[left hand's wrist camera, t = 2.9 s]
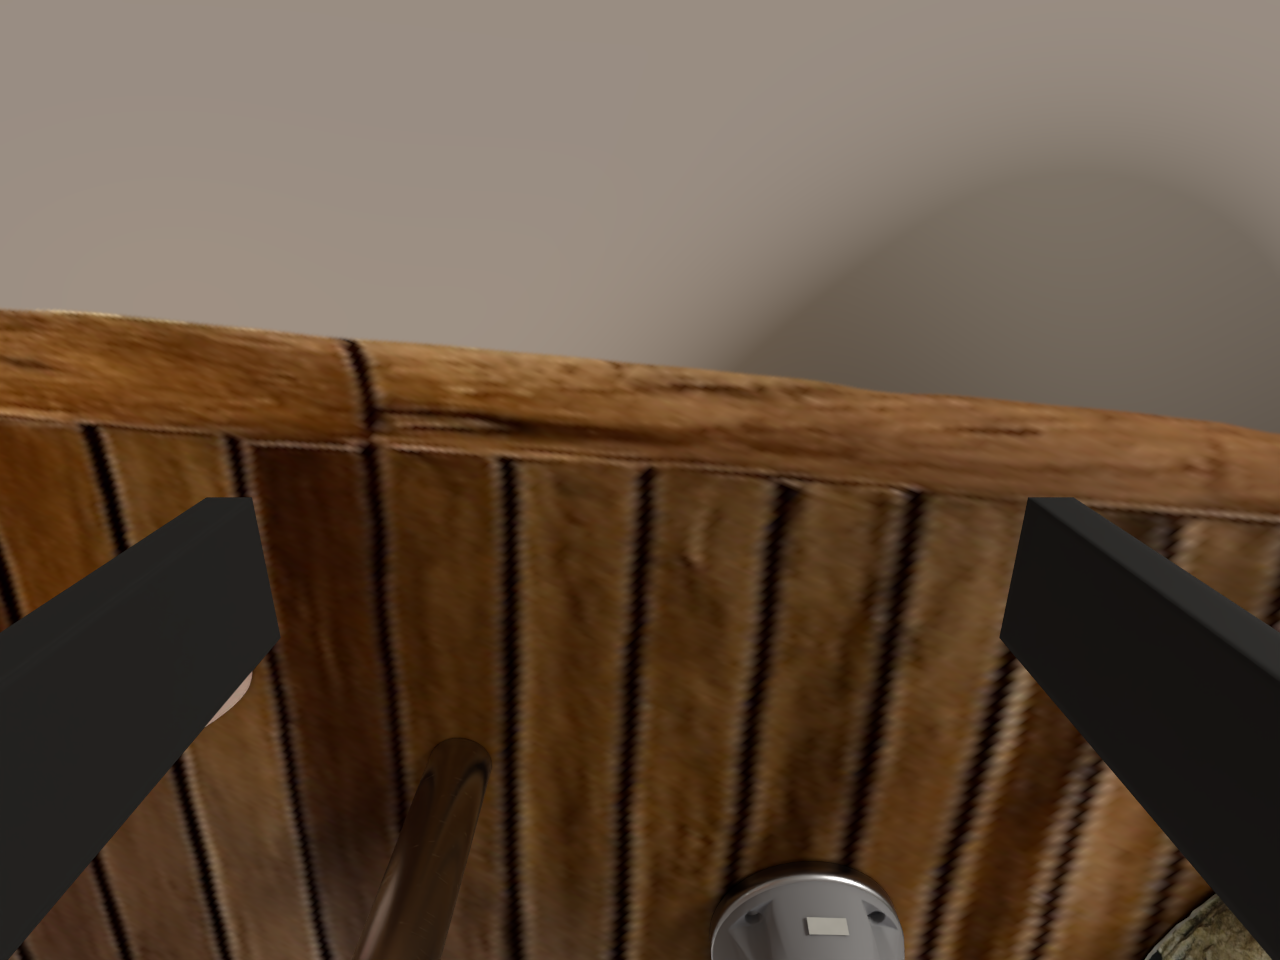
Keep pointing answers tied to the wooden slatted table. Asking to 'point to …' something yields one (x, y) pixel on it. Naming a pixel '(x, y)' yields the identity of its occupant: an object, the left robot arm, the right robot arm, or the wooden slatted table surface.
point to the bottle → (428, 858)
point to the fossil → (1209, 937)
